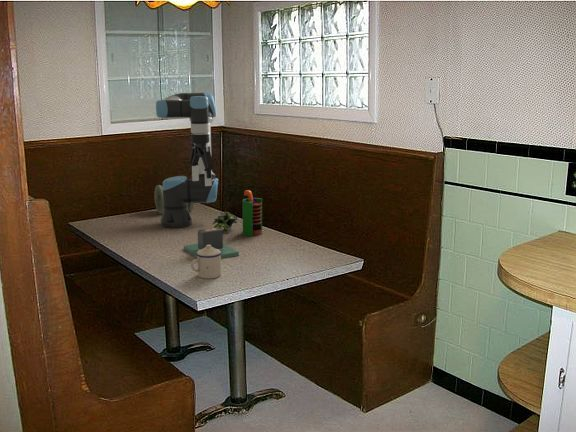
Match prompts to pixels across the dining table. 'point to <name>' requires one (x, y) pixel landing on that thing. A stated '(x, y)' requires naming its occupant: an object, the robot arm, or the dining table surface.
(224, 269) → the dining table surface
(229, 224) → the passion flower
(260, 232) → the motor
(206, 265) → the teacup with lid
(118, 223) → the dining table surface
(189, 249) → the header board
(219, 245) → the plug housing
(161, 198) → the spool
